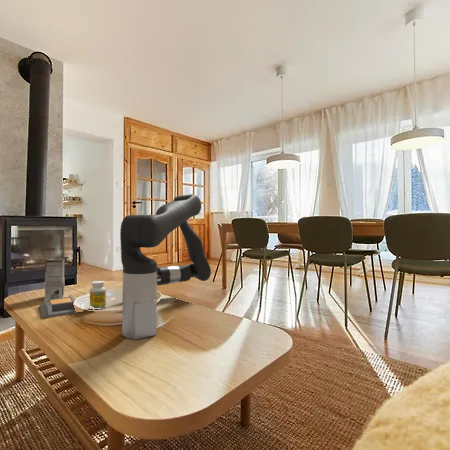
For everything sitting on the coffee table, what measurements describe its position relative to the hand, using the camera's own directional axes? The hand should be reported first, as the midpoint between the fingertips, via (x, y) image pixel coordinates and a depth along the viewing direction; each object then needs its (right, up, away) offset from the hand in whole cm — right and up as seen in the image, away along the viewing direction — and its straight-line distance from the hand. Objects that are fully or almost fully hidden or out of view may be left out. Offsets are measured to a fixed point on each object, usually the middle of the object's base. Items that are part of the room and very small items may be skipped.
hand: (129, 279), depth 109 cm
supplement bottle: (-9, -9, -7) cm, 15 cm away
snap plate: (-21, -7, -9) cm, 24 cm away
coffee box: (-33, -9, +7) cm, 35 cm away
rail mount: (-21, -9, -9) cm, 25 cm away
